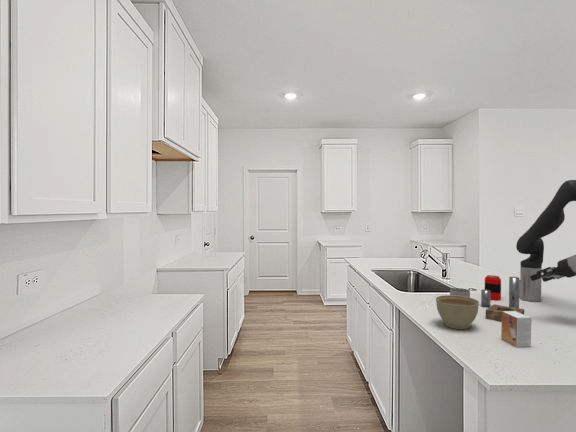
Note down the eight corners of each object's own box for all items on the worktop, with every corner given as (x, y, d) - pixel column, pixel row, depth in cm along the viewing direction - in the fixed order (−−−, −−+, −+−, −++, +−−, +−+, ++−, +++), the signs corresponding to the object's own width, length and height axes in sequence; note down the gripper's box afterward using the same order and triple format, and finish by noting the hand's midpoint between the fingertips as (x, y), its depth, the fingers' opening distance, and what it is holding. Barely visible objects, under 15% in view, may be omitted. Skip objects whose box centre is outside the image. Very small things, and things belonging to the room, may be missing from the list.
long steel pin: (506, 310, 169) (507, 276, 168) (514, 310, 169) (514, 276, 169) (513, 312, 165) (513, 278, 164) (521, 312, 165) (521, 278, 165)
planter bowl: (429, 319, 156) (429, 295, 155) (467, 319, 155) (467, 295, 155) (444, 332, 139) (445, 305, 139) (486, 332, 139) (487, 305, 139)
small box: (500, 339, 133) (501, 310, 132) (515, 338, 133) (515, 310, 133) (516, 347, 125) (516, 317, 124) (531, 346, 125) (531, 317, 125)
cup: (461, 314, 162) (461, 292, 162) (446, 310, 170) (446, 289, 169) (473, 312, 166) (473, 290, 166) (458, 307, 174) (458, 287, 173)
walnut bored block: (485, 318, 156) (485, 309, 156) (493, 312, 165) (493, 304, 165) (517, 325, 148) (517, 315, 148) (524, 318, 156) (524, 309, 156)
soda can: (497, 301, 185) (498, 278, 184) (482, 298, 190) (482, 276, 190) (503, 298, 190) (503, 276, 189) (487, 296, 195) (487, 274, 195)
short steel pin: (479, 305, 177) (479, 289, 177) (486, 305, 178) (486, 289, 177) (484, 307, 173) (485, 291, 173) (492, 307, 174) (492, 291, 173)
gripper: (580, 258, 150) (542, 272, 163) (560, 255, 144) (523, 270, 157) (589, 275, 147) (550, 288, 159) (569, 272, 141) (530, 286, 153)
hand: (537, 279), depth 158 cm, fingers open, 8 cm apart
